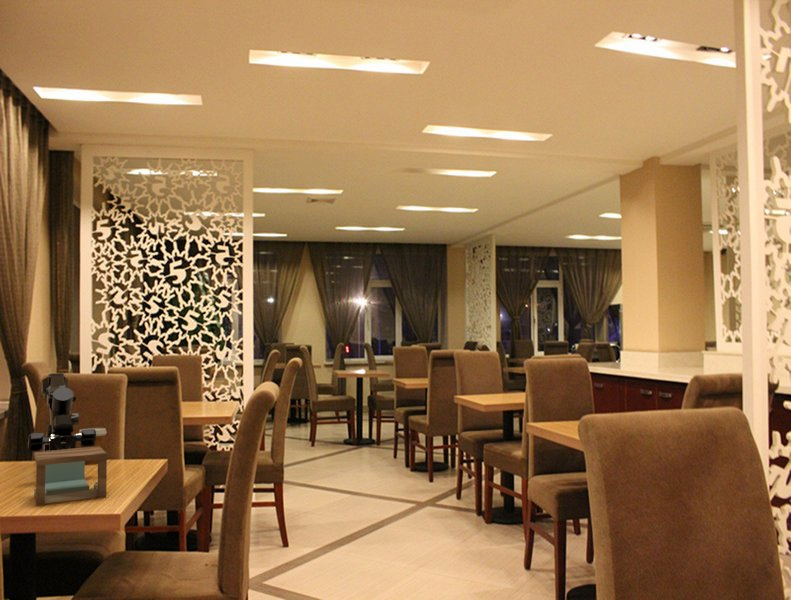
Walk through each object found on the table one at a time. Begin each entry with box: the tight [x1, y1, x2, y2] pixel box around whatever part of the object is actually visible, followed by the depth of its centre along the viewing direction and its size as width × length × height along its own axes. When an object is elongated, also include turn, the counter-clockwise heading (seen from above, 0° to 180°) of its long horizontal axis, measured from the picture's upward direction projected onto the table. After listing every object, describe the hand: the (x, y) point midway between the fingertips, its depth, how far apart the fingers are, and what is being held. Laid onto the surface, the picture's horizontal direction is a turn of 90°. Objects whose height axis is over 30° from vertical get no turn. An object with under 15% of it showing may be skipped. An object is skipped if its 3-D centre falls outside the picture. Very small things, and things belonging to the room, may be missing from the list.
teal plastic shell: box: [45, 461, 90, 495], centre depth 195 cm, size 14×11×9 cm
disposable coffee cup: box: [78, 427, 108, 466], centre depth 239 cm, size 10×10×12 cm
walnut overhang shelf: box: [33, 446, 108, 507], centre depth 185 cm, size 16×17×12 cm
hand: (63, 461), depth 202 cm, fingers closed
